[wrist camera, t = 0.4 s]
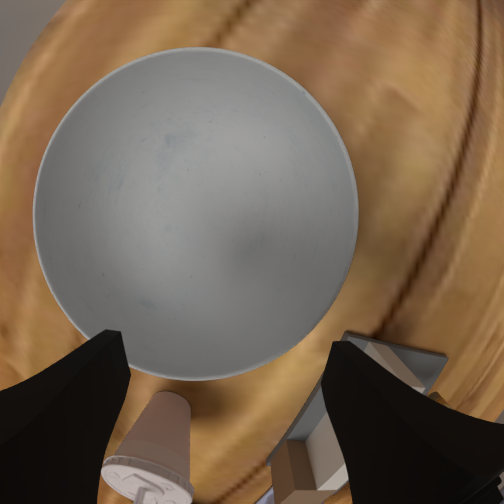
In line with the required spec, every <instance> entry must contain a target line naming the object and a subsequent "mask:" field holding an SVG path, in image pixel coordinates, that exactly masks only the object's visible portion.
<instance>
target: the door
mask: <svg viewBox="0 0 504 504" xmlns="http://www.w3.org/2000/svg"><path fill="white" fill-rule="evenodd" d="M341 341H350V342H352V343H353V344H354V345H356V346H357V347H358V348H360V349H361V350H362V351H364V352H365V353H366V354H367V355H369V356H370V357H371V358H372V359H374V360H375V361H376V362H378V363H379V364H380V365H381V366H383V367H384V368H385V369H387V370H388V371H389V372H391V373H392V374H393V375H395V376H396V377H397V378H399V379H400V380H402V381H403V382H405V383H406V384H408V385H409V386H411V387H412V388H414V389H415V390H417V391H418V392H420V393H422V394H423V395H427V393H428V392H429V390H430V389H431V387H432V386H433V384H434V382H435V381H436V379H437V378H438V376H439V374H440V373H441V371H442V370H443V368H444V366H445V364H446V363H447V361H448V359H449V358H448V357H447V356H446V355H443V354H438V353H433V352H428V351H424V350H419V349H414V348H410V347H405V346H401V345H397V344H392V343H388V342H384V341H380V340H376V339H372V338H368V337H364V336H360V335H356V334H352V333H348V332H345V333H344V335H343V337H342V339H341ZM323 373H324V372H323ZM322 377H323V374H322V376H321V378H320V379H319V381H318V383H317V384H316V386H315V388H314V389H313V391H312V393H311V394H310V396H309V398H308V399H307V401H306V403H305V404H304V406H303V407H302V409H301V411H300V412H299V414H298V415H297V417H296V418H295V420H294V421H293V423H292V424H291V426H290V427H289V429H288V430H287V432H286V433H285V435H284V436H283V437H282V439H281V440H280V442H279V443H278V445H277V446H276V447H275V449H274V450H273V451H272V453H271V454H270V456H269V457H268V458H267V460H266V466H271V474H272V484H273V493H274V502H275V504H321V503H322V502H323V501H324V500H326V499H327V498H328V497H329V496H330V495H332V494H335V493H336V492H337V491H339V490H340V489H341V488H342V487H343V486H344V485H345V484H347V483H348V482H349V481H348V480H349V479H348V474H347V469H346V465H345V461H344V458H343V454H342V452H341V449H340V446H339V443H338V441H337V438H336V435H335V432H334V430H333V427H332V424H331V421H330V419H329V416H328V413H327V410H326V407H325V403H324V399H323V394H322V389H321V384H320V383H321V380H322Z"/></svg>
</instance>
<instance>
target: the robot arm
mask: <svg viewBox="0 0 504 504" xmlns="http://www.w3.org/2000/svg"><path fill="white" fill-rule="evenodd" d="M130 377H131V373H130V369H129V365H128V361H127V356H126V352H125V348H124V343H123V338H122V333H121V331H115V330H109V329H105V330H103V331H102V332H100V333H98V334H97V335H95V336H94V337H93V338H91V339H90V340H88V341H87V342H85V343H84V344H82V345H81V346H80V347H78V348H77V349H75V350H74V351H72V352H71V353H69V354H68V355H67V356H65V357H64V358H62V359H61V360H59V361H57V362H56V363H54V364H53V365H51V366H49V367H48V368H46V369H45V370H43V371H41V372H40V373H38V374H36V375H34V376H33V377H31V378H29V379H27V380H25V381H23V382H21V383H19V384H17V385H14V386H12V387H9V388H7V389H4V390H2V391H0V504H97V495H98V488H99V480H100V474H101V469H102V464H103V459H104V454H105V451H106V448H107V445H108V442H109V439H110V436H111V434H112V431H113V428H114V426H115V423H116V421H117V418H118V416H119V413H120V410H121V408H122V405H123V403H124V400H125V397H126V393H127V389H128V385H129V381H130ZM320 384H321V389H322V394H323V399H324V403H325V407H326V410H327V413H328V416H329V419H330V421H331V424H332V427H333V430H334V432H335V435H336V438H337V441H338V443H339V446H340V449H341V452H342V454H343V458H344V461H345V465H346V469H347V474H348V479H349V484H350V490H351V496H352V502H353V504H504V486H503V487H502V488H501V489H500V490H499V489H498V487H497V486H498V485H499V484H500V483H501V478H500V477H499V475H500V474H501V473H502V472H504V424H499V423H494V422H489V421H485V420H482V419H478V418H475V417H472V416H469V415H466V414H463V413H461V412H458V411H456V410H453V409H451V408H448V407H446V406H444V405H442V404H440V403H438V402H436V401H434V400H432V399H431V398H429V397H427V396H425V395H423V394H422V393H420V392H418V391H417V390H415V389H414V388H412V387H411V386H409V385H408V384H406V383H405V382H403V381H402V380H400V379H399V378H397V377H396V376H395V375H393V374H392V373H391V372H389V371H388V370H387V369H385V368H384V367H383V366H381V365H380V364H379V363H378V362H376V361H375V360H374V359H372V358H371V357H370V356H369V355H367V354H366V353H365V352H364V351H362V350H361V349H360V348H358V347H357V346H356V345H354V344H353V343H352V342H350V341H333V343H332V347H331V350H330V354H329V357H328V360H327V364H326V367H325V370H324V373H323V377H322V380H321V383H320ZM255 504H275V502H274V493H273V486H272V487H271V488H270V489H269V490H268V491H267V492H266V493H265V494H264V495H263V496H262V497H261V498H260V499H259V500H258V501H257V502H256V503H255ZM321 504H324V501H323V502H322V503H321Z"/></svg>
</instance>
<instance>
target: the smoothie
mask: <svg viewBox="0 0 504 504" xmlns="http://www.w3.org/2000/svg"><path fill="white" fill-rule="evenodd" d="M190 420H191V407H190V405H189V403H188V402H187V400H186V399H184V398H183V397H182V396H180V395H178V394H176V393H173V392H168V391H162V392H158V393H156V394H154V395H153V396H152V398H151V399H150V401H149V402H148V404H147V405H146V407H145V408H144V410H143V411H142V413H141V414H140V416H139V417H138V419H137V420H136V422H135V423H134V425H133V426H132V428H131V429H130V431H129V432H128V434H127V435H126V437H125V438H124V440H123V441H122V443H121V444H120V446H119V447H118V449H117V450H116V452H115V454H114V455H113V456H110V457H107V458H106V459H105V461H104V465H103V467H102V469H101V474H102V477H103V478H104V480H105V481H106V482H107V484H108V485H109V486H111V487H112V488H113V489H114V490H116V491H117V492H118V493H120V494H122V495H123V496H125V497H127V498H129V499H131V500H133V501H134V502H133V504H191V503H192V496H193V494H194V488H193V486H192V485H191V483H190Z"/></svg>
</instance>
